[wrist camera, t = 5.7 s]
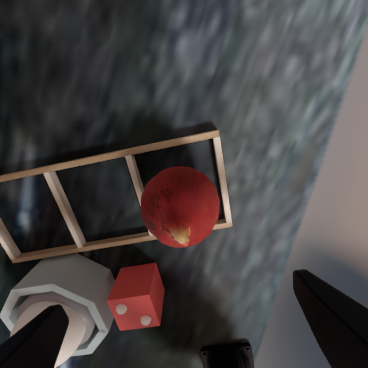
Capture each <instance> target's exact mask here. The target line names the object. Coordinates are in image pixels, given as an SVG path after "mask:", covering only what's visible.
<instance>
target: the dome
mask: <svg viewBox="0 0 368 368" xmlns="http://www.w3.org/2000/svg"><path fill="white" fill-rule="evenodd" d="M57 304H60V305H62V307H63V308H64V310H65V312H66V314H67V316H68V317H69V325H68V328H67V331H66V334H65V337H64V340H63V343H62V346H61V349H60V352H59V355H58V358H57V361H56V363H55V366H54V368H56V367H58V366H59V365H61V364H62V363H63V362H65V361H66V360H67V359H68V358H69V357H70V356H71V355H72V354H73V353H74V352H75V350H76V349H77V347H78V346H79V345H81V344H83V343H85V342H86V341H87V340H88V339H89V338H90V336H91V334H92V332H93V329H94V327H95V325H96V323H95V321H94V319H93V317H92V315H91V313H90V311H89V309H88V307H87V306H85V305H83V304H81V303H78V302H76V301H74V300H72V299H69V298H67V297H65V296H63V295H60V294H58V293H56V292H54V291H50V292H43V293H37V294H30V295H29V296H28V297H27V298H26V299H25V301H24V302H23V303H22V304H21V305H20V307H19V308H18V311H17V322H16V323H15V325H14V327H13V329H12V332H11V335H10V337H11V336H12V335H14V334H15V333H16V332H17V331H19V330H20V329H21V328H22V327H23V326H25V325H26V324H27V323H28V322H30V321H31V320H32V319H33V318H35V317H36V316H37V315H38V314H40V313H41V312H42V311H43V310H44V309H46V308H47V307H48V306H51V305H57Z"/></svg>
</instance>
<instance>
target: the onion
mask: <svg viewBox="0 0 368 368" xmlns="http://www.w3.org/2000/svg"><path fill="white" fill-rule="evenodd" d="M219 204H220V200H219V197H218V194H217V191H216V187H215V185H214V184H213V183H212V182H211V181H210V180H209V178H208V177H207V176H206V175H205V174H204V173H202V172H199V171H197V170H195V169H193V168H191V167H183V166H174V167H171V168H168V169H164V170H162V171H161V172H159V173H158V174H157V175H156V176H154V177H153V178H152V179H151V180H150V181H148V183H147V185H146V187H145V189H144V191H143V193H142V195H141V218H142V221H143V223H144V224H145V226H146V227H147V229H148V230H149V232H150V233H151V234H153V235H154V236H155V237H156V238H157V239H158V240H159V241H161V242H162V243H163V244H165V245H169V246H172V247H188V246H191V245H195V244H198V243H200V242H201V241H202V240H203V239H204V238H205V237H207V236H208V235H209V234H210V233H211V231H212V229H213V227H214V226H215V224H216V222H217V220H218V216H219Z"/></svg>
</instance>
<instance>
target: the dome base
mask: <svg viewBox="0 0 368 368" xmlns="http://www.w3.org/2000/svg"><path fill="white" fill-rule="evenodd" d="M50 291H54V292H56V293H58V294H60V295H63V296H65V297H67V298H69V299H72V300H74V301H76V302H78V303H81V304H83V305H85V306H87V307H88V309H89V311H90V313H91V315H92V317H93V319H94V321H95V323H96V325H95V327H94V329H93V332H92V334H91V336H90V338H89V339H88V340H87V341H86V342H85V343H83V344H81V345H79V346H78V347H77V349H76V350H75V352H74V353H73V354H72V355H71V356H77V355H86V354H92V353H93V352H94V350H95V349H96V348H97V346H98V345H99V344H100V343H101V341H102V340H103V339H104V337H105V336H106V335H107V333H108V332H109V330H110V327H111V324H112V321H113V319H114V318H115V320H116V323H117V325H118V327H119V329H120V331H123V330H130V329H138V328H146V327H154V326H160V323H161V315H162V307H163V300H164V292H165V289H164V286H163V283H162V280H161V277H160V273H159V270H158V267H157V264H156V263H150V264H143V265H137V266H130V267H124V268H121V269H120V271H119V273H118V276H117V278H116V280H115V279H114V277H113V274H112V272H111V270H110V269H108V268H106V267H104V266H102V265H100V264H98V263H96V262H94V261H92V260H90V259H88V258H86V257H84V256H82V255H80V254H78V253H74V254H68V255H62V256H56V257H50V258H44V259H42V260H41V261H40V262H39V263H38V264H37V265H36V266H35V267H34V268H33V269H32V270H31V271H30V272H29V273H28V274H27V275H26V276H25V277H24V278H23V279H22V280H21V281H20V282H19V283H18V284H17V285H16V286H15V287H14V288H13V289H12V290H11V292H10V294H9V296H8V299H7V301H6V303H5V305H4V307H3V309H2V311H1V314H0V318H1V319H2V321H3V322H4V323H5V325H6V326H7V328H8V329H9V330H10V332H12V329H13V327H14V325H15V323H16V322H17V311H18V308H19V307H20V305H21V304H22V303H23V302H24V301H25V299H26V298H27V297H28V296H29V295H30V294H37V293H43V292H50Z"/></svg>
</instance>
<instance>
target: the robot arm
mask: <svg viewBox="0 0 368 368" xmlns="http://www.w3.org/2000/svg"><path fill="white" fill-rule="evenodd" d="M293 289H294V293H295V295H296V297H297V300H298V302H299V304H300V306H301V308H302V310H303V313H304V315H305V317H306V319H307V321H308V323H309V325H310V327H311V330H312V332H313V334H314V336H315V338H316V340H317V342H318V344H319V346H320V348H321V350H322V352H323V353H324V355H325V357H326V359H327V360H328V362H329V364H330V365H331V367H332V368H368V308H366V307H364V306H363V305H361V304H360V303H358V302H356V301H355V300H353V299H352V298H350V297H349V296H347V295H346V294H344V293H342V292H341V291H339V290H338V289H336V288H335V287H333V286H331V285H330V284H328V283H327V282H325V281H324V280H322V279H320V278H319V277H317V276H316V275H314V274H313V273H311V272H309V271H308V270H305V269H302V270H295V271H294V272H293ZM68 325H69V317H68V316H67V314H66V312H65V310H64V308H63V307H62V305H60V304H57V305H51V306H48V307H47V308H46V309H44V310H43V311H42V312H41V313H40V314H38V315H37V316H36V317H35V318H33V319H32V320H31V321H30V322H28V323H27V324H26V325H25V326H23V327H22V328H21V329H20V330H19V331H17V332H16V333H15V334H14V335H12V336H11V337H10V338H9V339H7V340H6V341H5V342H4V343H2V344H1V345H0V368H54V366H55V363H56V361H57V358H58V355H59V352H60V349H61V346H62V343H63V340H64V337H65V334H66V331H67V328H68ZM201 356H202V360H203V364H204V367H205V368H254V362H253V355H252V348H251V345H250V343H241V344H232V345H223V346H215V347H206V348H202V349H201Z"/></svg>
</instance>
